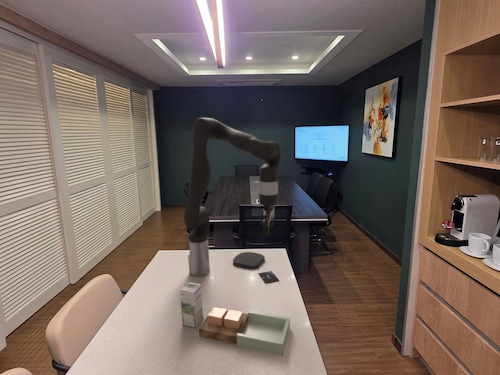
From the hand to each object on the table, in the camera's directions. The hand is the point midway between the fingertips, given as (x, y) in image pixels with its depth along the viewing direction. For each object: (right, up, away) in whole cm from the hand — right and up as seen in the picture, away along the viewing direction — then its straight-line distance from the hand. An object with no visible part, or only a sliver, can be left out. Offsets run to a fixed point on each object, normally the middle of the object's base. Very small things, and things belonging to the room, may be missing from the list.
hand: (268, 230), depth 115 cm
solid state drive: (+1, -26, +19) cm, 32 cm away
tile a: (-19, -29, -15) cm, 38 cm away
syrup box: (-28, -32, -12) cm, 44 cm away
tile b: (-13, -29, -17) cm, 37 cm away
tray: (-3, -33, -20) cm, 38 cm away
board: (-16, -32, -16) cm, 39 cm away
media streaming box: (-8, -23, +35) cm, 43 cm away
